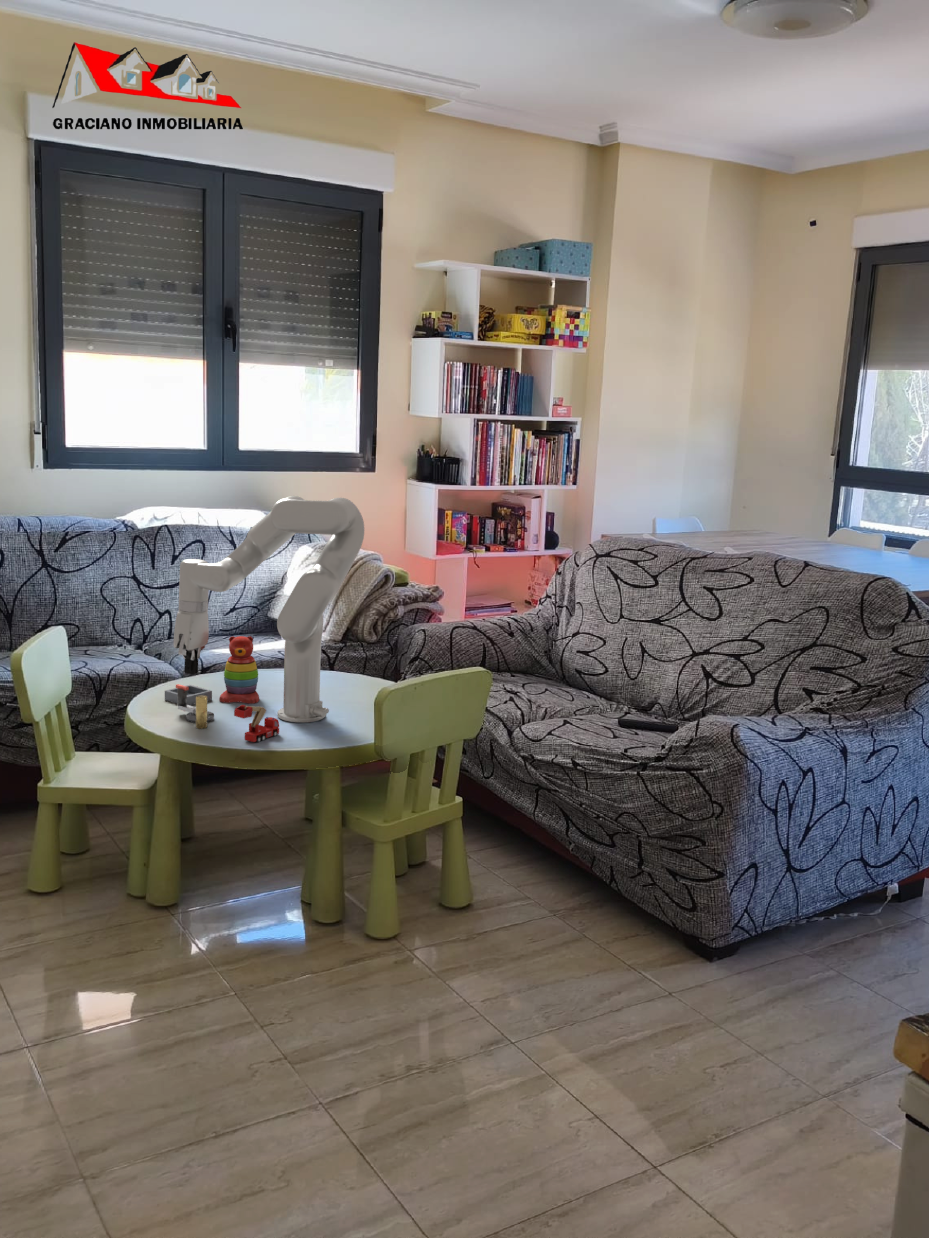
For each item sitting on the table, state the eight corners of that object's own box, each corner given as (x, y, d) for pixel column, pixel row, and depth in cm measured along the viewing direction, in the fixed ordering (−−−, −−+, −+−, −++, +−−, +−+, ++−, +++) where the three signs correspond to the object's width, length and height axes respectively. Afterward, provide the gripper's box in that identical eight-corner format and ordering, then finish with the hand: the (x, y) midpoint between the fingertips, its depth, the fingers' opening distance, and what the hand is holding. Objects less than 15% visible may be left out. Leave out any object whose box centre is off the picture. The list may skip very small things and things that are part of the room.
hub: (219, 718, 285) (219, 714, 285) (199, 724, 280) (199, 720, 279) (201, 713, 289) (201, 709, 289) (180, 719, 284) (180, 714, 283)
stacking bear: (217, 702, 300) (218, 639, 297) (224, 693, 310) (224, 631, 307) (257, 704, 301) (258, 641, 297) (262, 694, 311) (263, 633, 307)
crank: (210, 713, 285) (210, 690, 283) (199, 716, 282) (199, 693, 281) (182, 705, 291) (182, 683, 289) (171, 708, 288) (171, 685, 287)
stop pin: (209, 727, 278) (209, 696, 277) (201, 729, 276) (201, 698, 274) (201, 724, 280) (202, 694, 278) (193, 727, 277) (193, 696, 276)
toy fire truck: (280, 734, 275) (281, 697, 273) (243, 747, 264) (244, 709, 262) (270, 732, 277) (271, 695, 275) (233, 745, 265) (233, 706, 263)
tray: (212, 699, 303) (212, 690, 302) (186, 706, 295) (186, 696, 295) (189, 693, 308) (189, 684, 307) (164, 699, 300) (164, 690, 300)
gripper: (197, 600, 296) (194, 665, 300) (164, 608, 282) (162, 676, 286) (221, 604, 294) (218, 669, 297) (189, 612, 280) (187, 681, 283)
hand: (191, 673), depth 292 cm, fingers closed
